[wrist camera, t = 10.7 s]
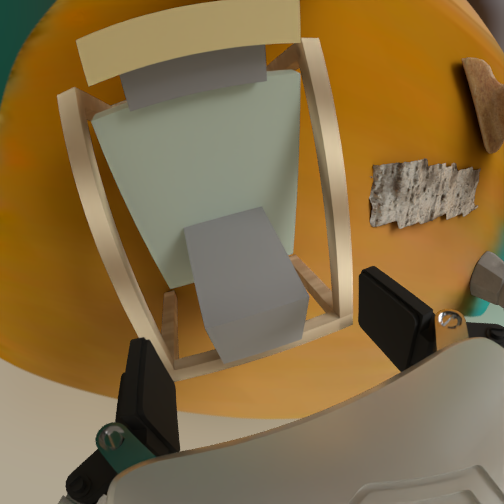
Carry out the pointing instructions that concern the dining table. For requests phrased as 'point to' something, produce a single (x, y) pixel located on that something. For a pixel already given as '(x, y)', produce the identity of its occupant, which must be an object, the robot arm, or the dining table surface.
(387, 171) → the stone fragment
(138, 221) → the trapdoor
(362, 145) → the dining table surface
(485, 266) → the coffeepot
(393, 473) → the robot arm
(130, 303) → the trapdoor frame
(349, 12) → the dining table surface
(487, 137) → the stone cup
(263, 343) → the granite block
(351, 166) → the dining table surface
